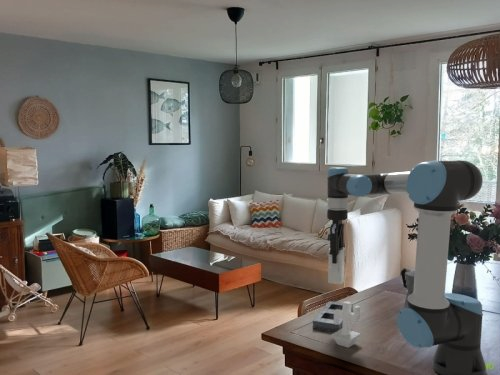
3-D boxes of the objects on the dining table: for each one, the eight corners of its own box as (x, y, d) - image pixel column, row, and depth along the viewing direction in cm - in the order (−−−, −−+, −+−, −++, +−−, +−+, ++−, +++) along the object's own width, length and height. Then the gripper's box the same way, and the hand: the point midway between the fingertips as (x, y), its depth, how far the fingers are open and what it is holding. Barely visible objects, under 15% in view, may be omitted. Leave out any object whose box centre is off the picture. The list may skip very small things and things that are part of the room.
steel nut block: (341, 284, 185) (341, 250, 183) (328, 283, 187) (328, 249, 185) (344, 281, 189) (344, 247, 188) (331, 279, 191) (331, 246, 190)
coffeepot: (436, 312, 203) (437, 269, 201) (418, 316, 199) (420, 272, 197) (408, 301, 217) (410, 260, 215) (392, 304, 212) (393, 263, 211)
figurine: (339, 337, 178) (339, 296, 176) (363, 344, 172) (364, 302, 170) (328, 343, 172) (329, 301, 170) (353, 351, 166) (354, 307, 165)
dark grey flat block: (339, 332, 182) (339, 324, 181) (312, 328, 186) (312, 320, 185) (352, 311, 204) (353, 304, 203) (329, 308, 208) (329, 301, 207)
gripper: (333, 205, 195) (332, 263, 197) (321, 211, 178) (320, 274, 181) (352, 206, 192) (351, 265, 194) (342, 212, 176) (341, 276, 178)
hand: (336, 269), depth 188 cm, fingers closed on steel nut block, 5 cm apart
